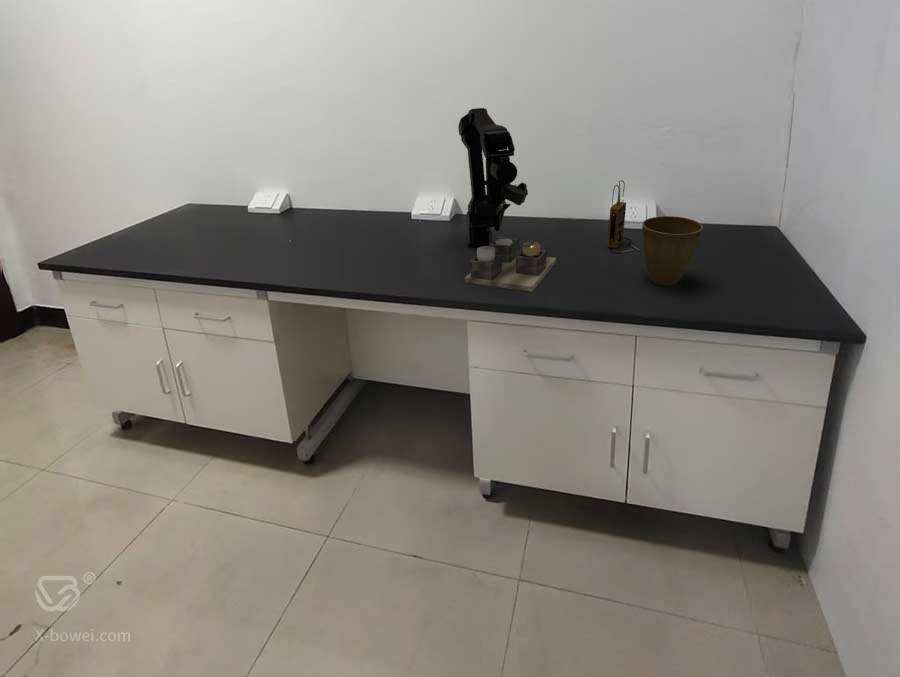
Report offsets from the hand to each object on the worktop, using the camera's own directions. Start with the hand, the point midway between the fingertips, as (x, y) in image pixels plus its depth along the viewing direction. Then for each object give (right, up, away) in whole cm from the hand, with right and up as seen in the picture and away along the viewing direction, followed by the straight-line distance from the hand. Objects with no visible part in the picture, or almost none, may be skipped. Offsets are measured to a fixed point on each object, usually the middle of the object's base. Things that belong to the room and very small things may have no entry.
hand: (497, 230), depth 172 cm
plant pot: (+45, -15, -8) cm, 49 cm away
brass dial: (+9, -9, -2) cm, 13 cm away
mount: (+4, -12, +3) cm, 13 cm away
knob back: (+3, -6, +10) cm, 12 cm away
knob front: (-3, -10, -3) cm, 11 cm away
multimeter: (+42, -2, +16) cm, 45 cm away
